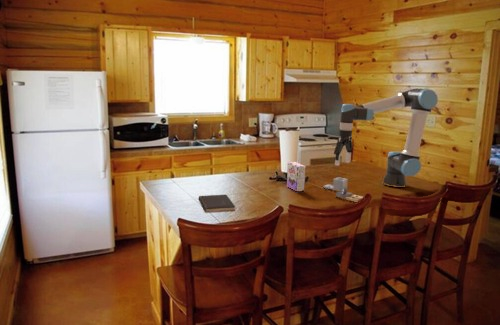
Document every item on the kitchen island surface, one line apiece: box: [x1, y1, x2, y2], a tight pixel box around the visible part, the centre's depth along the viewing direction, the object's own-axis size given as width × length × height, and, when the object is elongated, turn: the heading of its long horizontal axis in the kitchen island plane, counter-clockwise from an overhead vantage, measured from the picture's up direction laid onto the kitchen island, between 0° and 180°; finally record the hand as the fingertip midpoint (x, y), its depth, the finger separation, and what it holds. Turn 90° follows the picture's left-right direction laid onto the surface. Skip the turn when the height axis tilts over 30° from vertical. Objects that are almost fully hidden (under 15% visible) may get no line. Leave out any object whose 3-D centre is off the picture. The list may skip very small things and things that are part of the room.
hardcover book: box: [198, 194, 236, 212], centre depth 218 cm, size 16×23×2 cm
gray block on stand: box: [335, 178, 354, 198], centre depth 236 cm, size 7×7×11 cm
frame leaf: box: [346, 193, 364, 202], centre depth 232 cm, size 9×7×2 cm
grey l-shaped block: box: [322, 177, 349, 191], centre depth 252 cm, size 6×13×8 cm, turn 48°
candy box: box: [286, 161, 306, 192], centre depth 251 cm, size 14×6×16 cm, turn 21°
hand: (342, 164), depth 246 cm, fingers open, 13 cm apart
